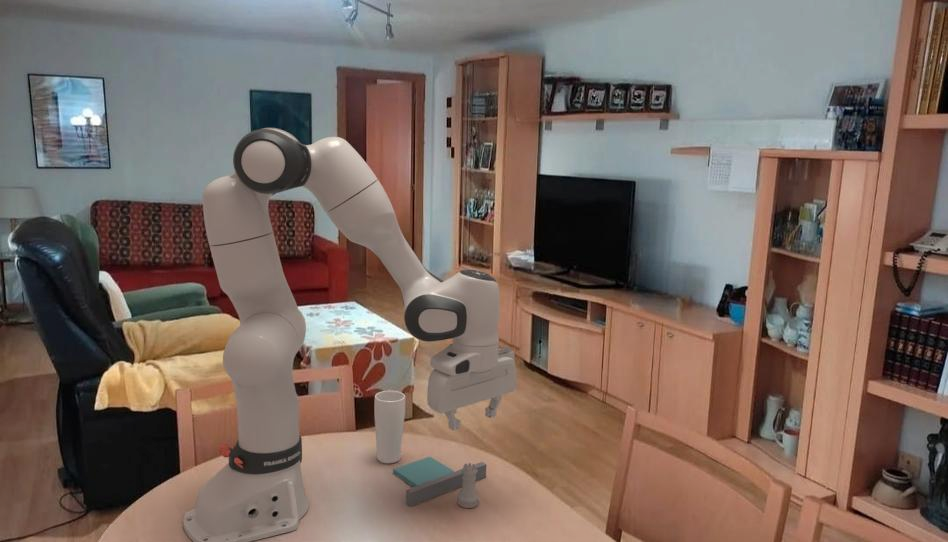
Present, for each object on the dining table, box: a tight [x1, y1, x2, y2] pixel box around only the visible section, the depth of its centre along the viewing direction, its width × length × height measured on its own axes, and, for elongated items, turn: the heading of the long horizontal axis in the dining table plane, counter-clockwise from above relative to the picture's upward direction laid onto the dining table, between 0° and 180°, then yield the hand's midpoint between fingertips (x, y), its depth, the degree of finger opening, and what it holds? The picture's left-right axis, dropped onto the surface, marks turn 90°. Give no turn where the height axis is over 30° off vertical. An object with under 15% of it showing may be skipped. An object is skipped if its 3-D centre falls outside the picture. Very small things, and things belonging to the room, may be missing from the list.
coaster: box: [392, 456, 456, 488], centre depth 149 cm, size 10×10×1 cm
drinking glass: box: [373, 390, 406, 464], centre depth 154 cm, size 7×7×15 cm
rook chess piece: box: [456, 462, 480, 509], centre depth 138 cm, size 4×4×8 cm
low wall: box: [405, 461, 488, 507], centre depth 143 cm, size 20×2×3 cm, turn 131°
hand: (472, 422), depth 135 cm, fingers open, 8 cm apart
